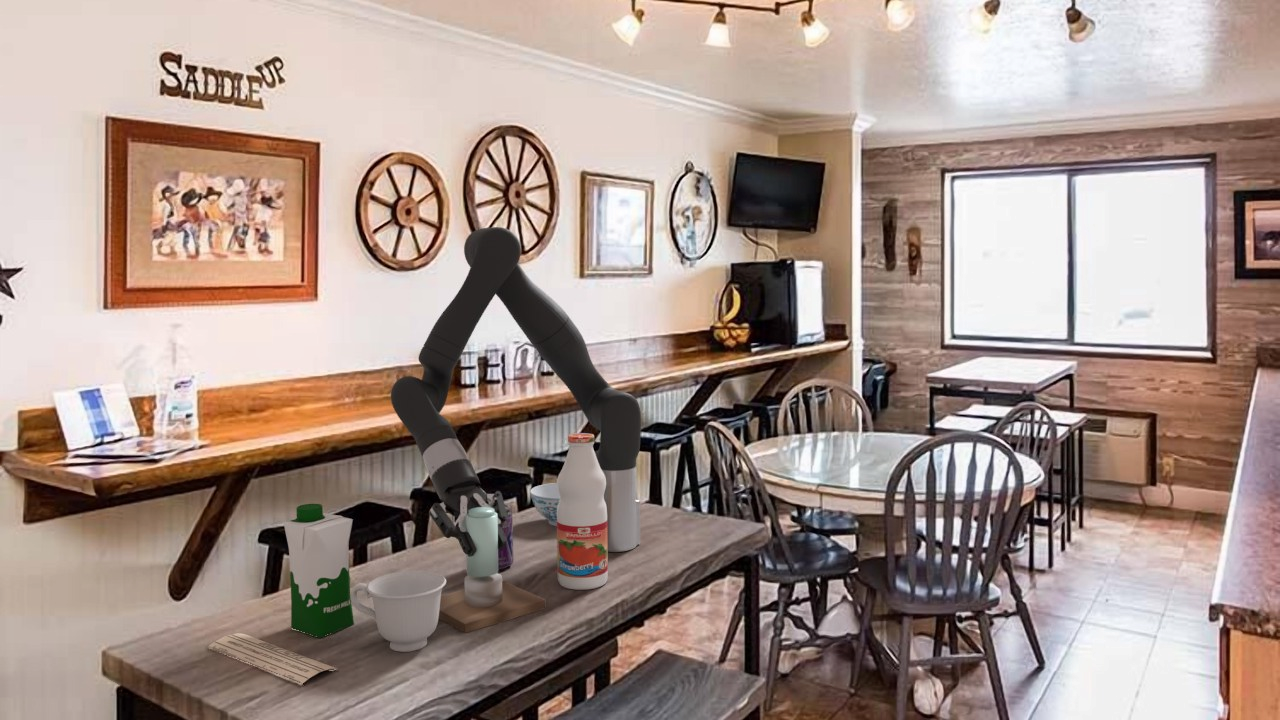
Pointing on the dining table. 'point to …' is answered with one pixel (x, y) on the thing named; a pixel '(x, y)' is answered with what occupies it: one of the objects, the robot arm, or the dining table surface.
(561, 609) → the dining table surface
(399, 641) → the teacup
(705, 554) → the dining table surface
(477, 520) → the pale green cylinder
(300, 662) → the newspaper
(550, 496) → the chinaware
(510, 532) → the beverage can
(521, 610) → the stud base
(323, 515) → the milk carton
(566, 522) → the strawberry yogurt bottle
